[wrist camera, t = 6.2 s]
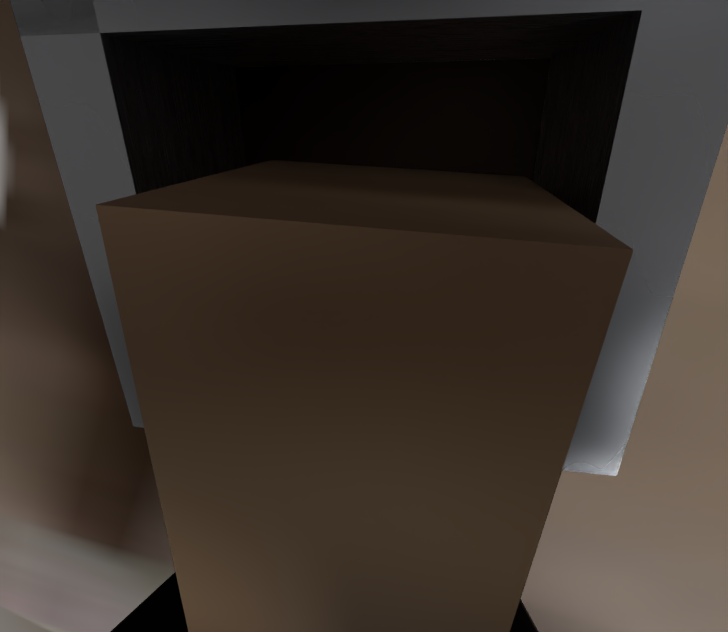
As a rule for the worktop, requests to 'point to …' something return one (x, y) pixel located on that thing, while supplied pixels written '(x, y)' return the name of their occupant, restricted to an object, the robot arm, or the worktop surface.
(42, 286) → the worktop surface
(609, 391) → the bracket
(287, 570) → the rail
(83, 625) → the worktop surface
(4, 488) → the worktop surface
